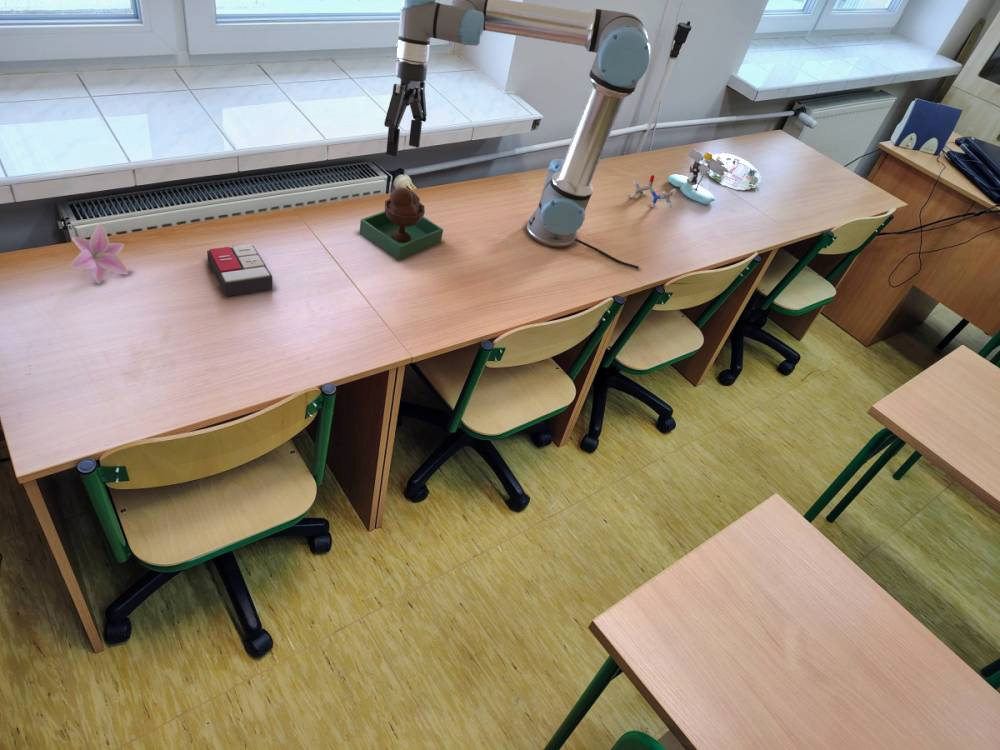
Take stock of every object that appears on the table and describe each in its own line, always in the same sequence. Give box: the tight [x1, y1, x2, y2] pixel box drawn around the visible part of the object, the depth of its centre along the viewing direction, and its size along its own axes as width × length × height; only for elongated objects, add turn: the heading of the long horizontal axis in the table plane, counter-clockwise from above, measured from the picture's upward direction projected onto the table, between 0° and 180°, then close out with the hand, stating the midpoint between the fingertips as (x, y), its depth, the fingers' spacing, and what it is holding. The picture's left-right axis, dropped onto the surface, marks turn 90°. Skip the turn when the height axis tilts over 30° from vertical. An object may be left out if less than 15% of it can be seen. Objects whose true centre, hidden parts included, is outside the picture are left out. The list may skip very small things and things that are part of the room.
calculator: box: [206, 243, 274, 297], centre depth 168 cm, size 11×4×15 cm
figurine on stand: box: [667, 148, 728, 205], centre depth 252 cm, size 20×11×15 cm, turn 30°
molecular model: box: [630, 174, 677, 209], centre depth 240 cm, size 18×8×10 cm, turn 42°
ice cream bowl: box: [384, 186, 426, 242], centre depth 190 cm, size 11×11×15 cm
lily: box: [69, 222, 129, 284], centre depth 158 cm, size 12×12×10 cm
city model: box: [703, 152, 763, 191], centre depth 274 cm, size 25×23×6 cm
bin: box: [359, 210, 444, 261], centre depth 194 cm, size 15×16×4 cm
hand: (403, 150), depth 181 cm, fingers open, 13 cm apart
